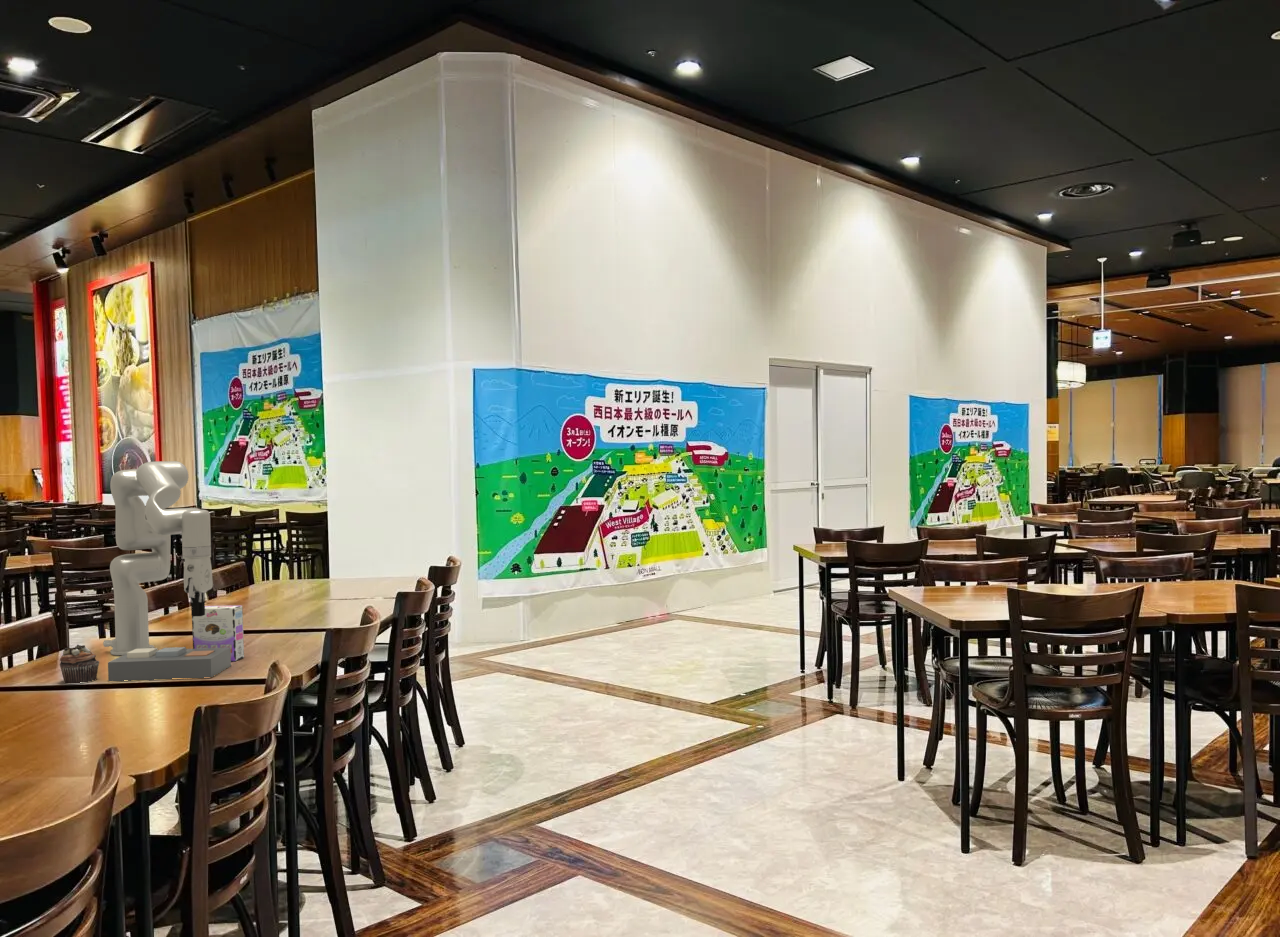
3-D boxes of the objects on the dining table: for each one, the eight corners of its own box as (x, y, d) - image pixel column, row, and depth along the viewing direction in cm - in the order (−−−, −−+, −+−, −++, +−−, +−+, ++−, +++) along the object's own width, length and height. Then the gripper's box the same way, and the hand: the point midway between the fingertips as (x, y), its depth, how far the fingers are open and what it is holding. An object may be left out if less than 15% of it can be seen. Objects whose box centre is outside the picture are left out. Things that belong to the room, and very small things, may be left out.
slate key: (156, 664, 278) (155, 651, 278) (164, 659, 284) (164, 647, 284) (177, 663, 279) (177, 651, 279) (186, 659, 285) (185, 647, 285)
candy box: (245, 657, 302) (243, 604, 302) (235, 661, 296) (233, 607, 296) (202, 657, 304) (201, 605, 303) (192, 661, 298) (190, 608, 297)
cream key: (127, 665, 278) (126, 652, 278) (136, 660, 284) (136, 648, 284) (148, 664, 278) (148, 652, 278) (157, 659, 284) (157, 648, 284)
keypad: (108, 681, 272) (107, 662, 272) (133, 669, 288) (133, 650, 288) (211, 678, 274) (210, 658, 274) (231, 665, 290) (230, 647, 290)
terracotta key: (185, 667, 279) (184, 655, 279) (193, 663, 285) (192, 651, 285) (206, 666, 279) (206, 654, 279) (214, 662, 285) (214, 650, 285)
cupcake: (82, 685, 269) (81, 649, 269) (52, 684, 271) (51, 648, 271) (107, 677, 279) (106, 642, 278) (78, 676, 280) (77, 641, 280)
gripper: (200, 555, 274) (201, 620, 275) (219, 549, 289) (220, 611, 290) (172, 555, 274) (174, 620, 274) (193, 550, 289) (194, 611, 289)
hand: (198, 615), depth 282 cm, fingers closed
